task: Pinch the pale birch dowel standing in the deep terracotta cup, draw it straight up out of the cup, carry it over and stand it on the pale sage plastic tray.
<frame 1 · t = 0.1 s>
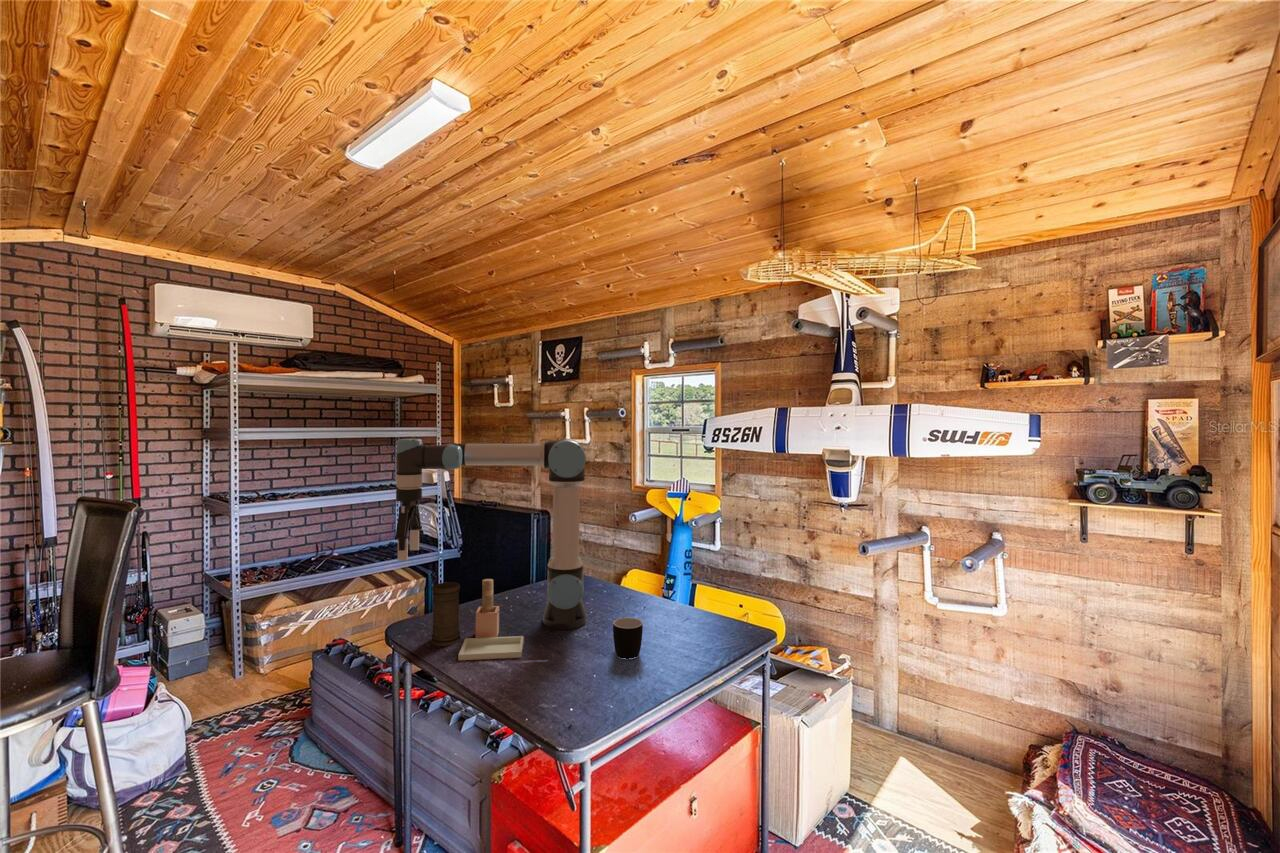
hand: (408, 555, 175), 28 cm above the table, fingers open, 13 cm apart
tray: (492, 652, 169), on the table
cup: (487, 637, 181), on the table
dowel: (487, 635, 181), point 1 cm above the table, touching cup
container: (446, 642, 177), on the table
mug: (624, 654, 169), on the table
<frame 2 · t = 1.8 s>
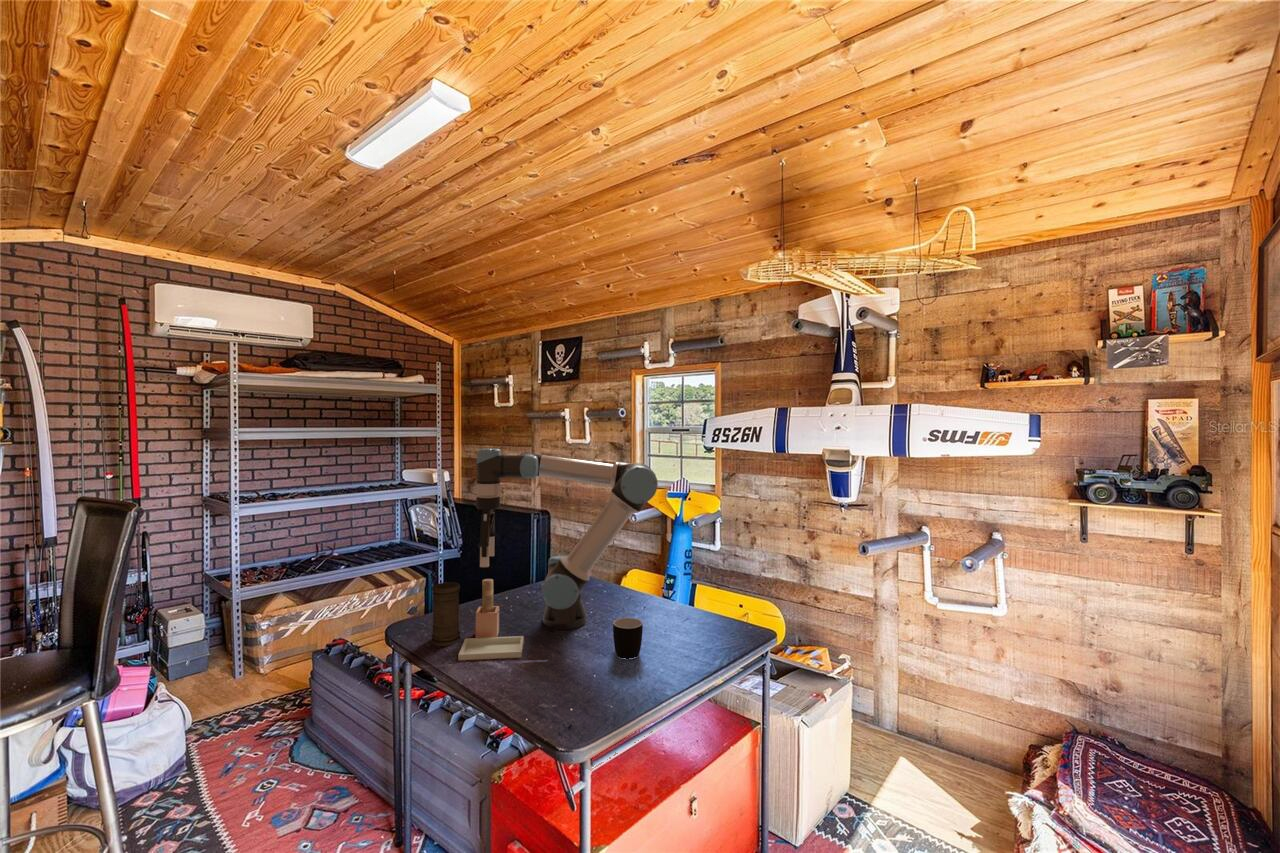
hand: (487, 561, 181), 25 cm above the table, fingers open, 13 cm apart
nothing on the table moved.
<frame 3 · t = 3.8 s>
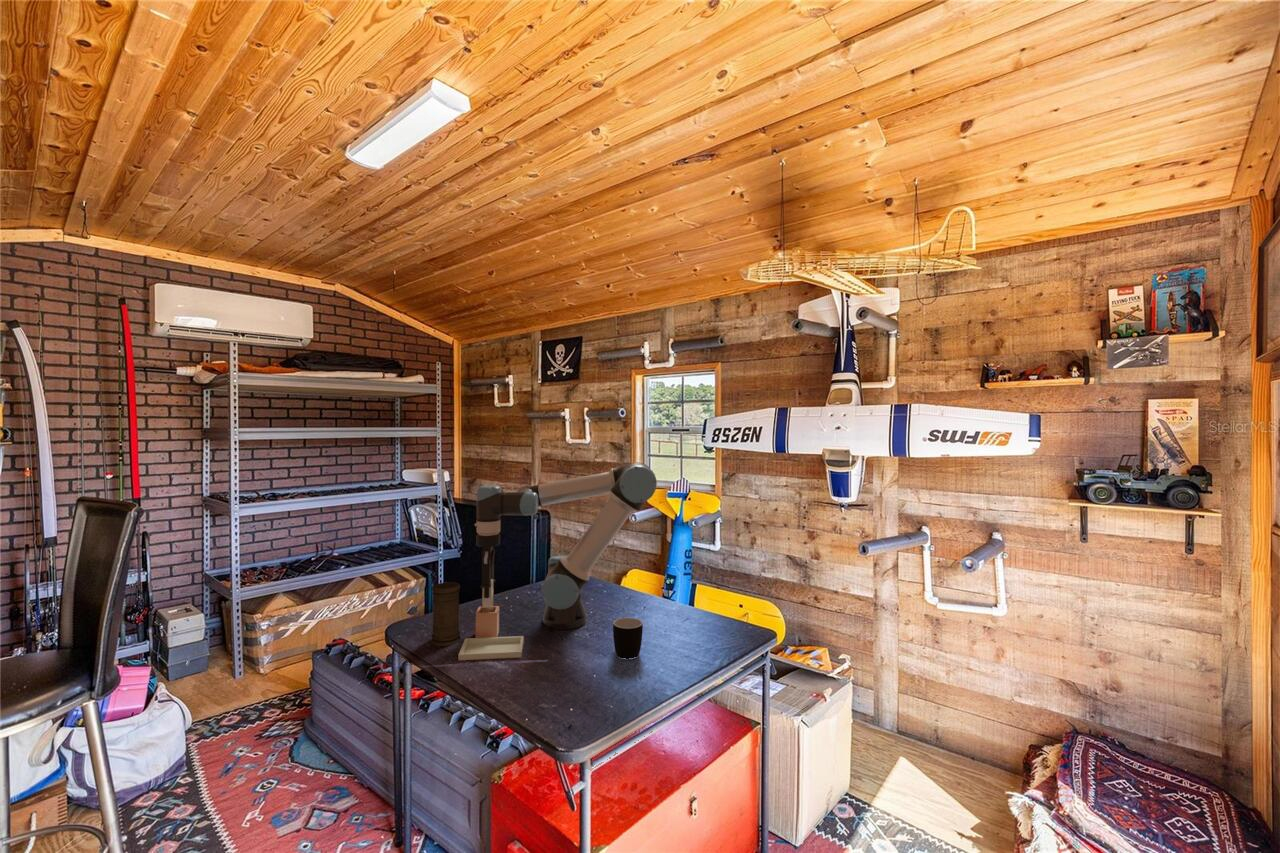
hand: (487, 604, 181), 11 cm above the table, fingers closed on dowel, 3 cm apart
dowel: (487, 635, 181), point 1 cm above the table, touching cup, gripper
everything else where it was.
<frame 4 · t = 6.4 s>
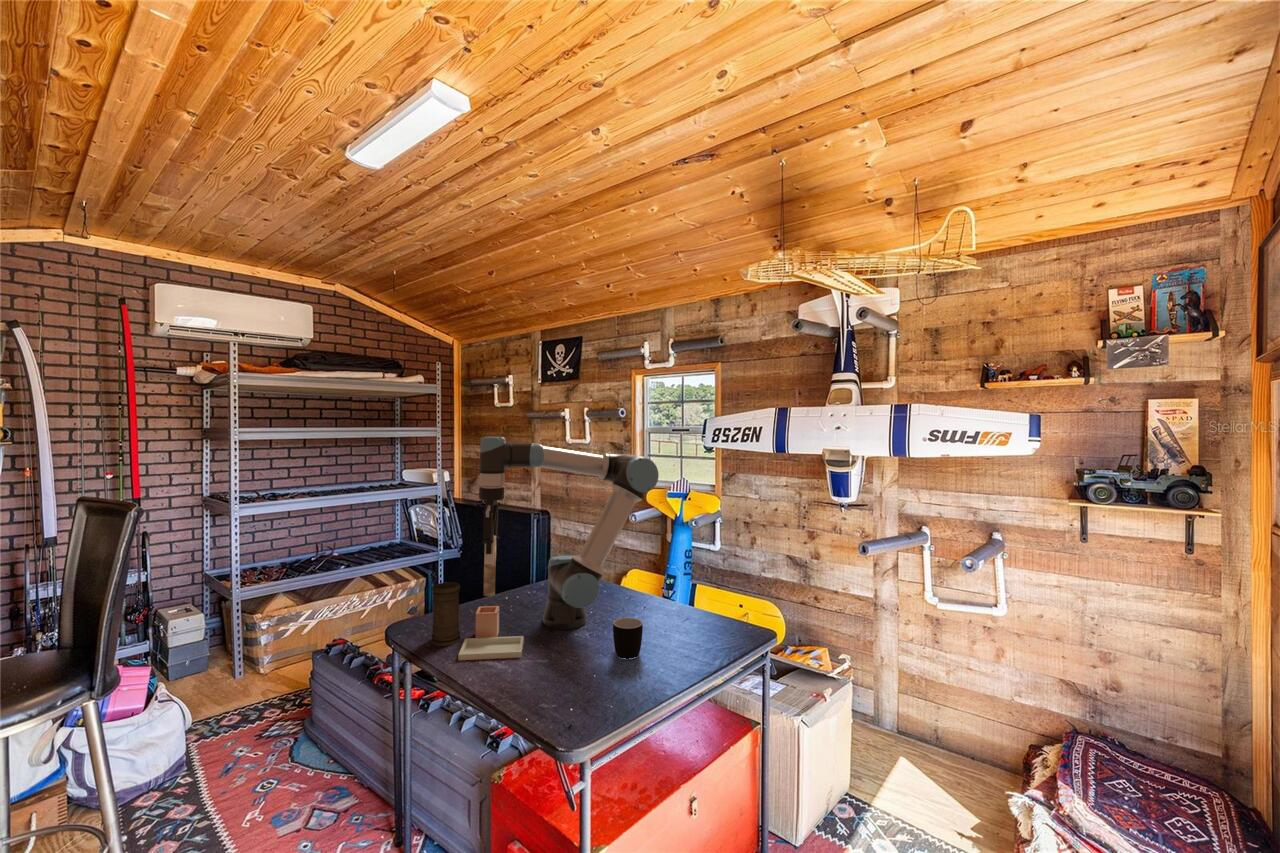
hand: (490, 562, 172), 27 cm above the table, fingers closed on dowel, 3 cm apart
dowel: (489, 594, 172), point 17 cm above the table, touching gripper
everything else where it was.
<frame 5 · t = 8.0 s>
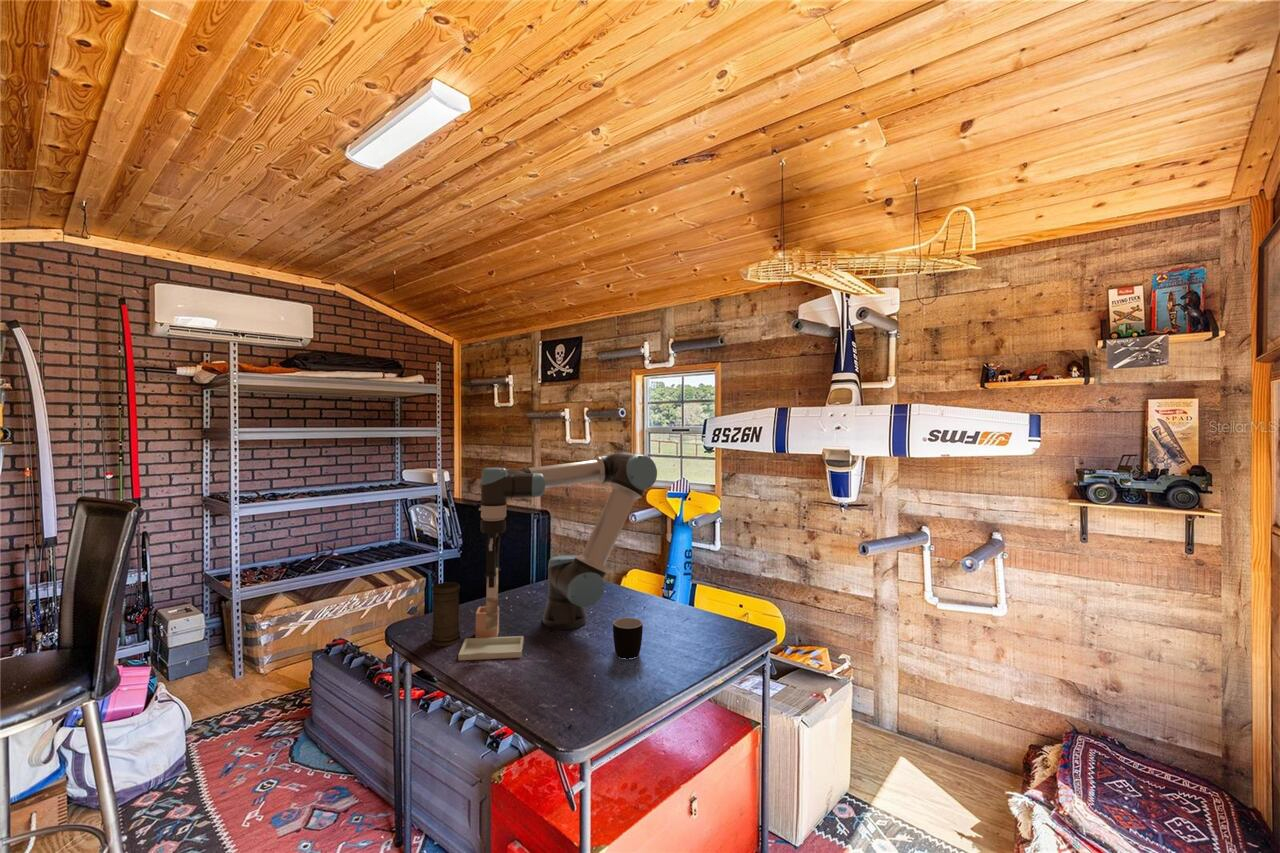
hand: (492, 595, 169), 17 cm above the table, fingers closed on dowel, 3 cm apart
dowel: (491, 627, 169), point 8 cm above the table, touching gripper
everything else where it was.
when the fingers open (12 cm above the table, at t = 9.1 s): dowel drops 1 cm, resting on tray.
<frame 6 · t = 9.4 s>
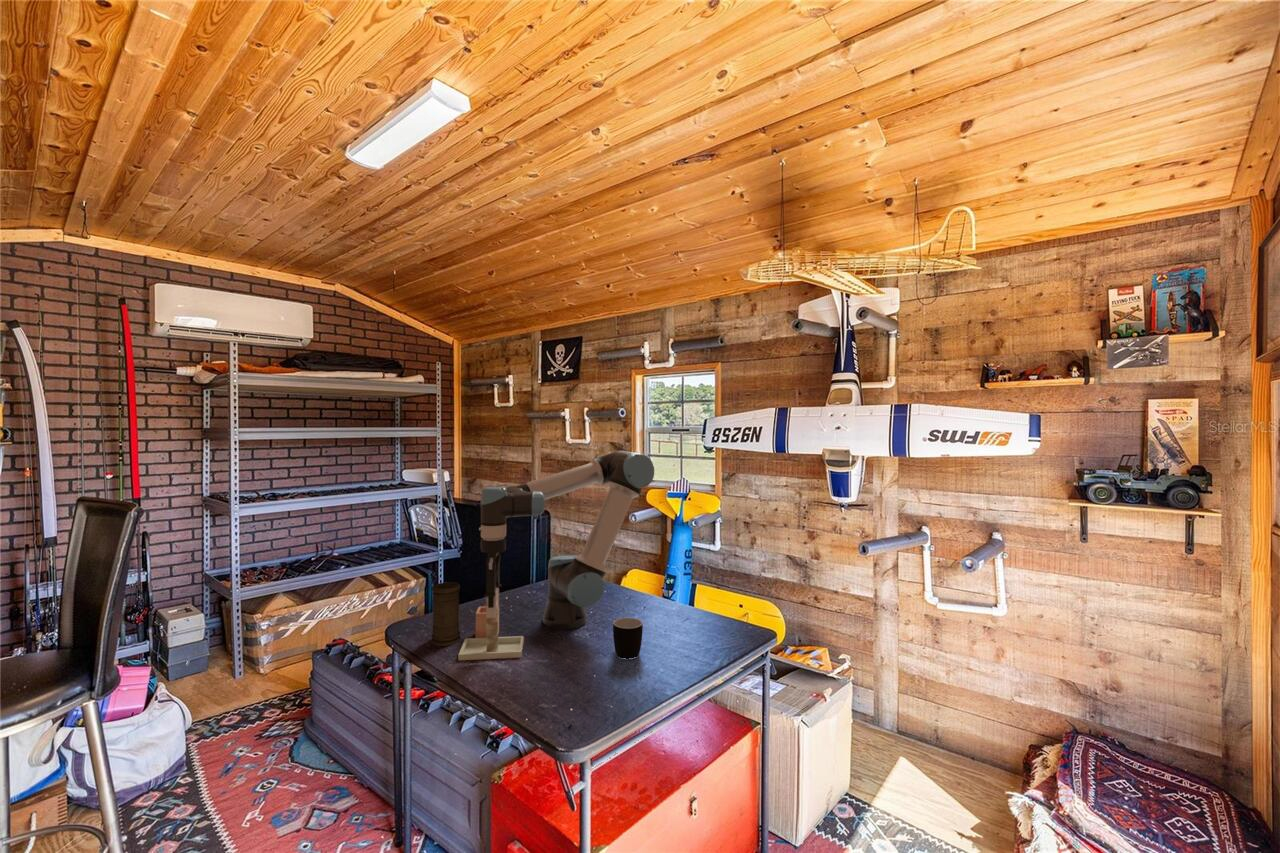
hand: (492, 612, 169), 12 cm above the table, fingers open, 7 cm apart
dowel: (492, 650, 169), point 1 cm above the table, touching tray
everything else where it was.
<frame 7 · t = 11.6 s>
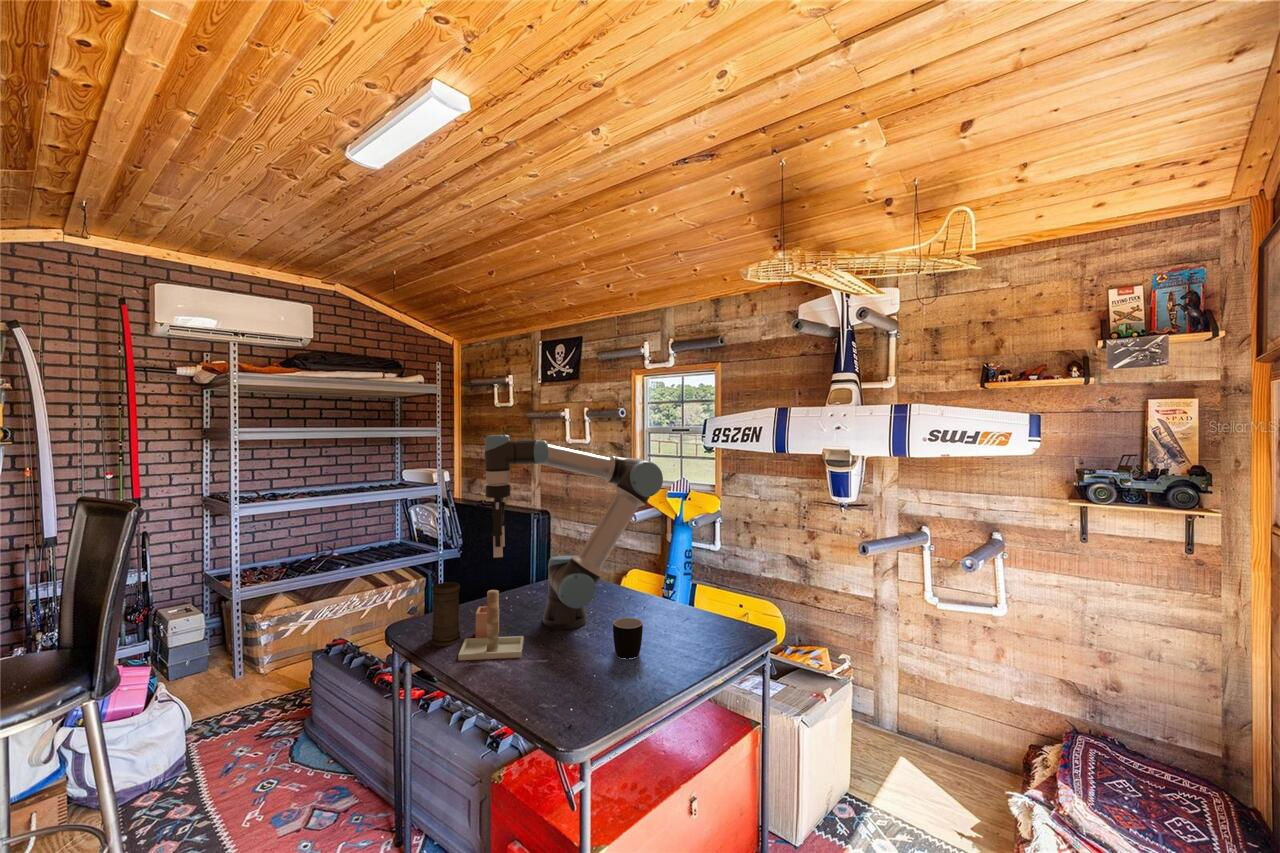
hand: (499, 551, 174), 30 cm above the table, fingers open, 13 cm apart
nothing on the table moved.
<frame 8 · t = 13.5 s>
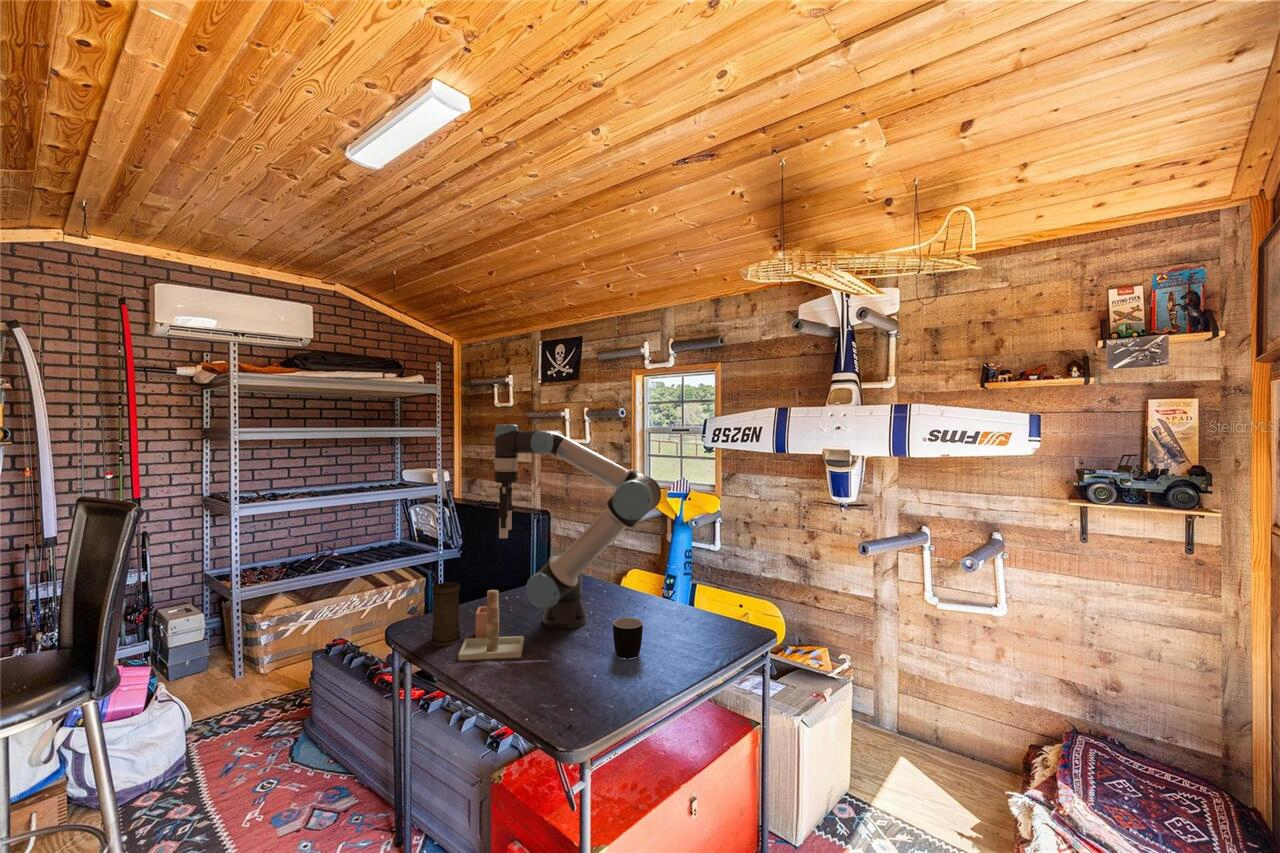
hand: (505, 533, 186), 33 cm above the table, fingers open, 13 cm apart
nothing on the table moved.
at the end: dowel inside the target area on the tray (0.0 cm from its centre), point 0.6 cm above the tray's base; dowel touching tray; the gripper is holding nothing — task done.
